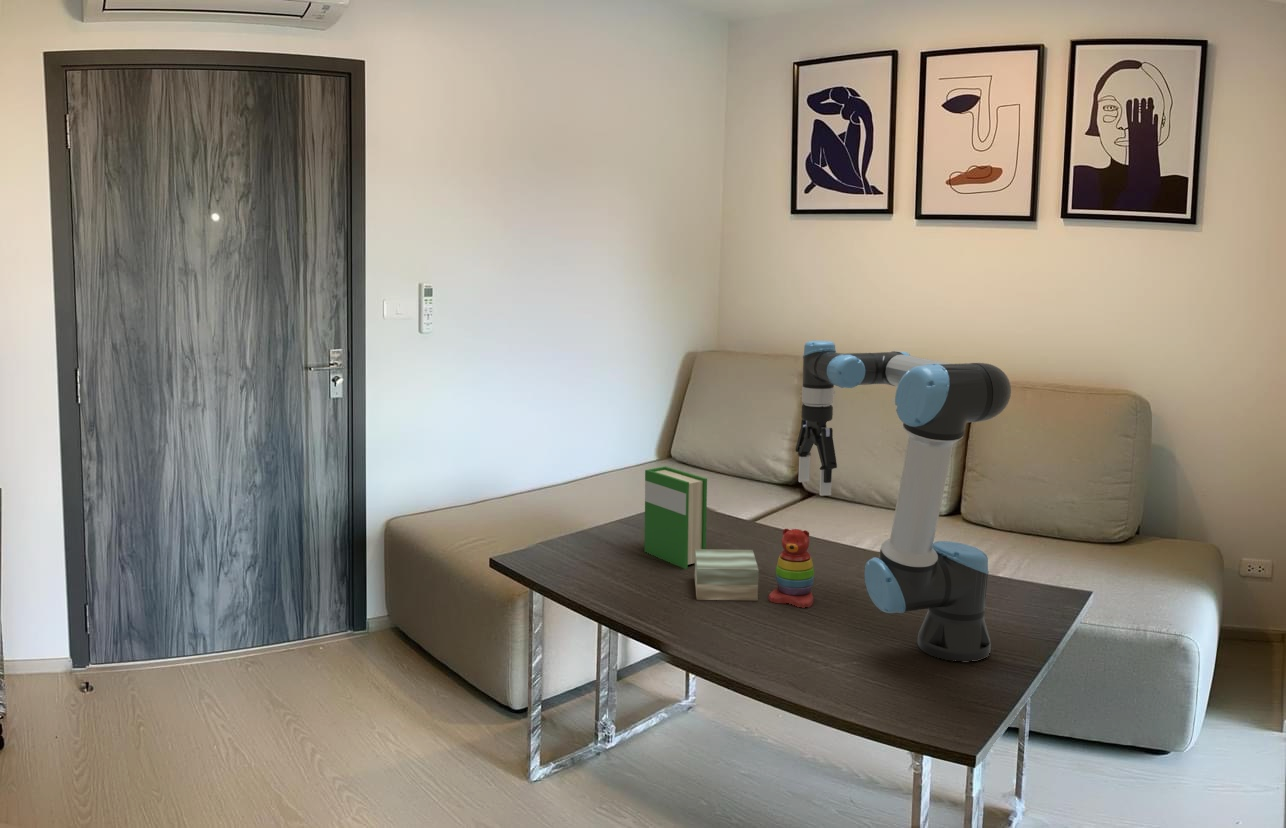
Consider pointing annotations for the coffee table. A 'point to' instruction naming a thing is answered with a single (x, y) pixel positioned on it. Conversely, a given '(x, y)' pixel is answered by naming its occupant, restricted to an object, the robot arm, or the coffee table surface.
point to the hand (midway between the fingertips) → (814, 488)
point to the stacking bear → (794, 570)
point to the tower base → (726, 592)
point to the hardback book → (675, 515)
